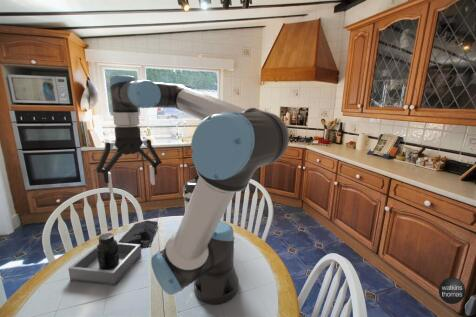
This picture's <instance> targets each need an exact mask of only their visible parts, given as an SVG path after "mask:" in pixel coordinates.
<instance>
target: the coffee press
mask: <svg viewBox="0 0 476 317" xmlns="http://www.w3.org/2000/svg"><path fill="white" fill-rule="evenodd" d="M198 178H199V175H198V174H196V175H195V176H194V178H193V179H190V180H187V181H186V182H185V183H184V184H183V186H182V189H183V194H182V196H183V206H184V212H185V211H186V209H187V206H188V203H189V201H190V198H191V196H192V193H193V191H194V188H195V186H196V183H197V181H198Z"/></svg>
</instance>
